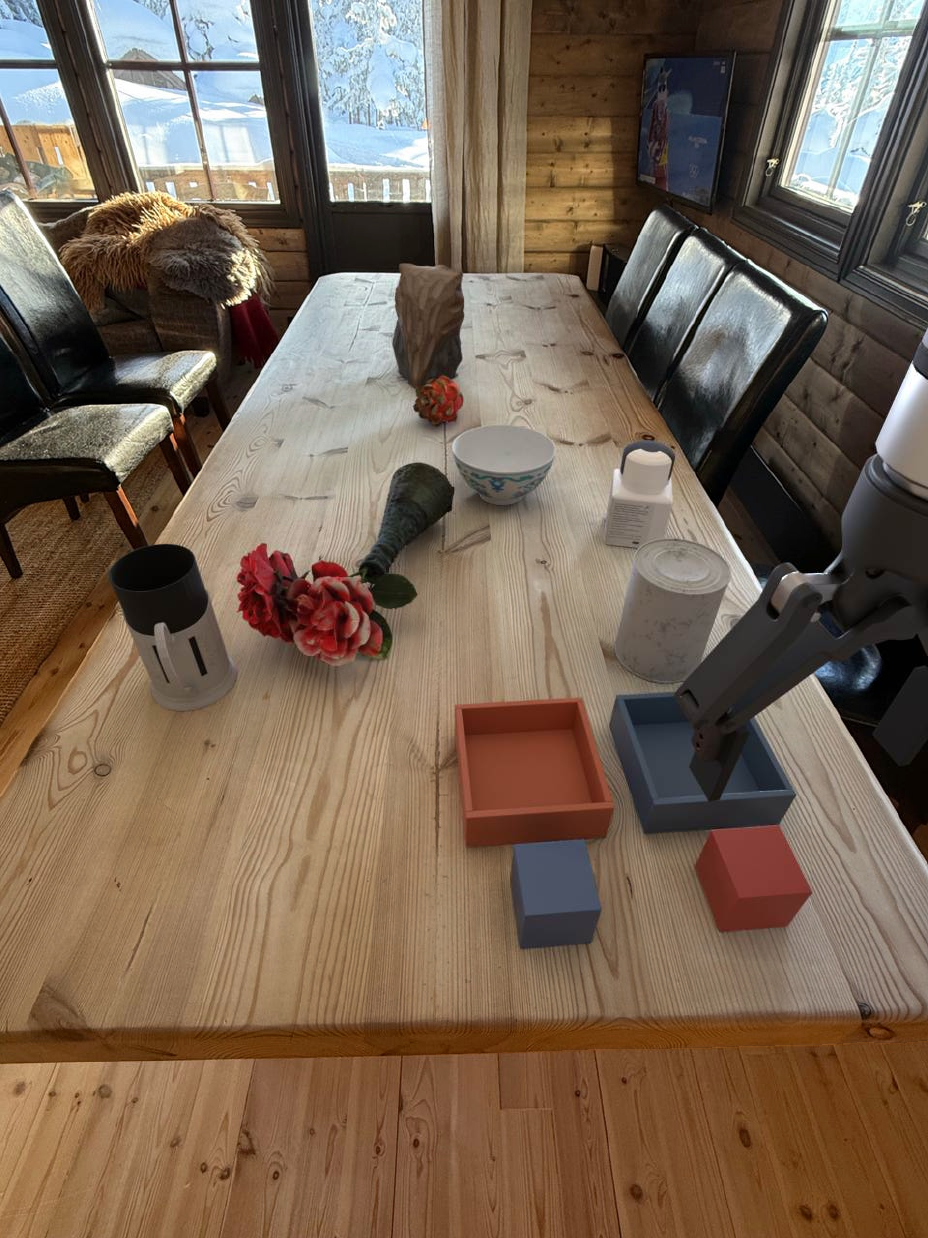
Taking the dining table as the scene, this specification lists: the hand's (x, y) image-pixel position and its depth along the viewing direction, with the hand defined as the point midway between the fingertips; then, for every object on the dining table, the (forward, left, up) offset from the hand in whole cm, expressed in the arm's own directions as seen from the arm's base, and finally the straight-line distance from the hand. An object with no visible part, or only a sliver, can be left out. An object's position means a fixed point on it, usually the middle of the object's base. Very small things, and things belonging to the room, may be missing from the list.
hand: (799, 766), depth 43 cm
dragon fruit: (+90, +19, -16) cm, 93 cm away
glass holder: (+24, +48, -16) cm, 56 cm away
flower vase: (+41, +31, -16) cm, 54 cm away
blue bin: (+11, 0, -16) cm, 19 cm away
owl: (+111, +21, -16) cm, 114 cm away
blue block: (-1, +15, -16) cm, 22 cm away
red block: (-1, 0, -16) cm, 16 cm away
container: (+51, -6, -16) cm, 54 cm away
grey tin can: (+27, -2, -16) cm, 32 cm away
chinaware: (+63, +11, -16) cm, 66 cm away
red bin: (+11, +15, -16) cm, 25 cm away
